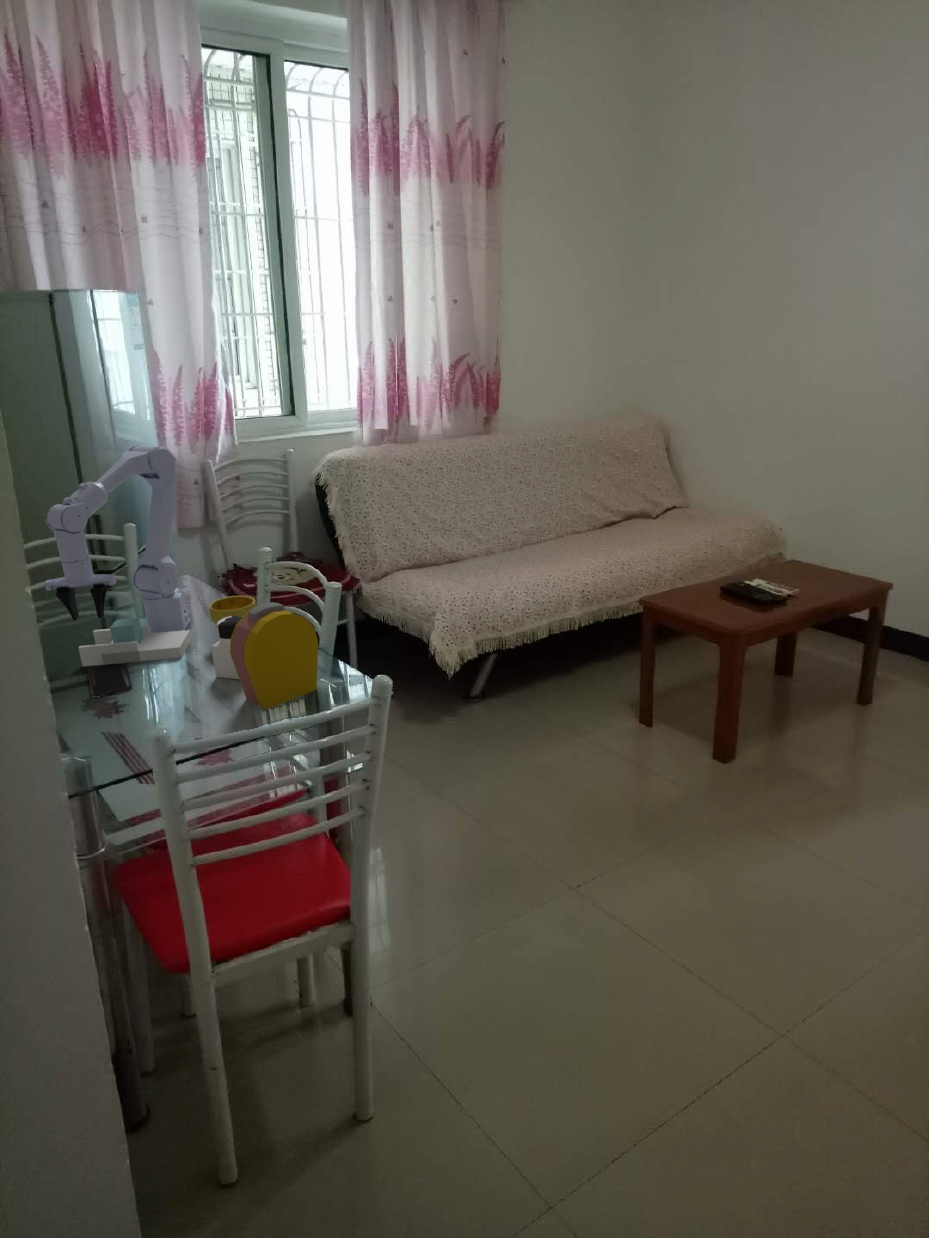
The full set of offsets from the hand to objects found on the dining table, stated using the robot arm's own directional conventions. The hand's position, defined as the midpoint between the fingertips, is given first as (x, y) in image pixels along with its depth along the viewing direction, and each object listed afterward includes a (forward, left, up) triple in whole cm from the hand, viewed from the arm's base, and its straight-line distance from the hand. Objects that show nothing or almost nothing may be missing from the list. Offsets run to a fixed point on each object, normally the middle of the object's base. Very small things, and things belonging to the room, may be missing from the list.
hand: (88, 617), depth 188 cm
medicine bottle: (-35, +17, -10) cm, 40 cm away
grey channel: (-9, 0, -9) cm, 13 cm away
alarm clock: (-45, +30, -10) cm, 55 cm away
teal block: (-8, 0, -7) cm, 10 cm away
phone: (-7, +16, -10) cm, 20 cm away
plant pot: (-32, -1, -10) cm, 33 cm away
